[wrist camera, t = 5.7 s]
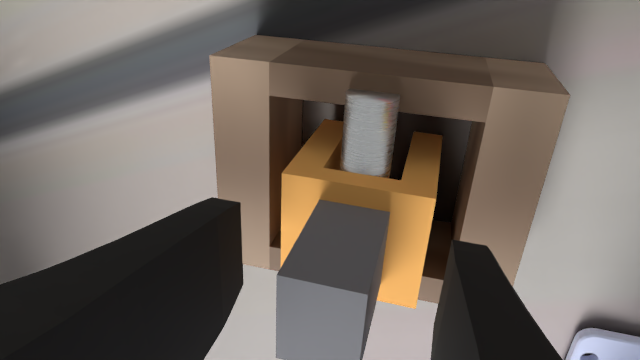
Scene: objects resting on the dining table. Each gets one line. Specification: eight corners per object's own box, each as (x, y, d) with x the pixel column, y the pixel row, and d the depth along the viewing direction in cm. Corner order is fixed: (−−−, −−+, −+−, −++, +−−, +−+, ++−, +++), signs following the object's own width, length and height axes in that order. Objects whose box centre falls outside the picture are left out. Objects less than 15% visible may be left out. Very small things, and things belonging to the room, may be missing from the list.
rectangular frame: (495, 251, 15) (506, 339, 12) (258, 210, 16) (209, 276, 13) (545, 63, 12) (579, 107, 9) (255, 34, 14) (193, 62, 10)
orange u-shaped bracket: (426, 226, 14) (402, 409, 9) (320, 206, 15) (233, 364, 9) (442, 135, 13) (427, 282, 7) (324, 118, 14) (227, 241, 8)
